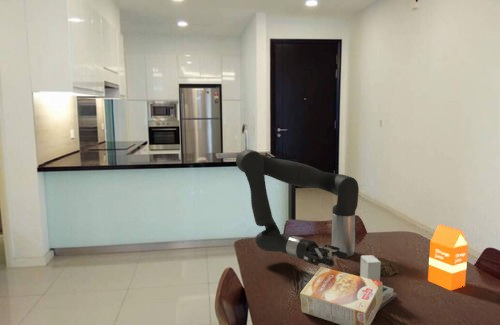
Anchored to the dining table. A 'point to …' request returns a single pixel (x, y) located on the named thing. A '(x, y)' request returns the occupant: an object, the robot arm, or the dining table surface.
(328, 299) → the coffeecake box
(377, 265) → the skincare box
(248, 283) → the dining table surface
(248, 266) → the dining table surface
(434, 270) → the orange juice
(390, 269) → the bread roll
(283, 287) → the dining table surface
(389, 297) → the jig
